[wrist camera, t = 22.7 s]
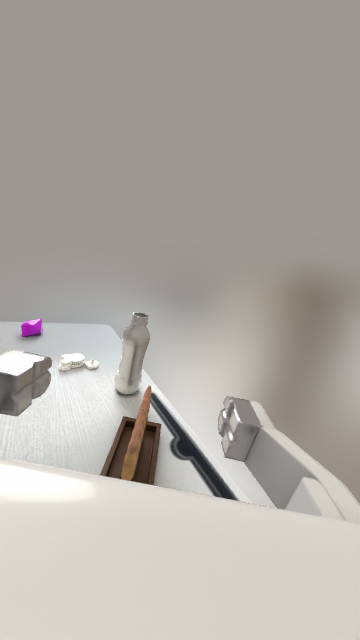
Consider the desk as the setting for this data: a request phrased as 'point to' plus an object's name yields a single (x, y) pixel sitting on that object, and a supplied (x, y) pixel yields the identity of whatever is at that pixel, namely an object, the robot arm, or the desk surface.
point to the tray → (147, 452)
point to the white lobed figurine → (76, 362)
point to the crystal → (32, 327)
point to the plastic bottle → (132, 354)
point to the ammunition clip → (136, 440)
